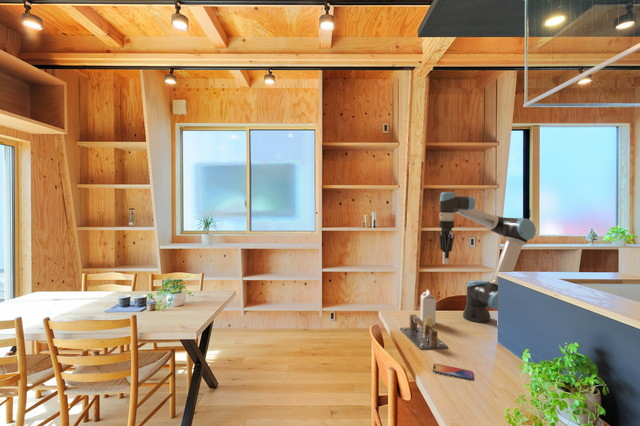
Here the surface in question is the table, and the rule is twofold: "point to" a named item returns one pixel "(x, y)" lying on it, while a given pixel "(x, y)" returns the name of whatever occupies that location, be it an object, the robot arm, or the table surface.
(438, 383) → the table surface
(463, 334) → the table surface
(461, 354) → the table surface
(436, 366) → the smartphone
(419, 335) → the flange plate
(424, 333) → the slider
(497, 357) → the table surface
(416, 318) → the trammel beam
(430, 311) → the milk carton
